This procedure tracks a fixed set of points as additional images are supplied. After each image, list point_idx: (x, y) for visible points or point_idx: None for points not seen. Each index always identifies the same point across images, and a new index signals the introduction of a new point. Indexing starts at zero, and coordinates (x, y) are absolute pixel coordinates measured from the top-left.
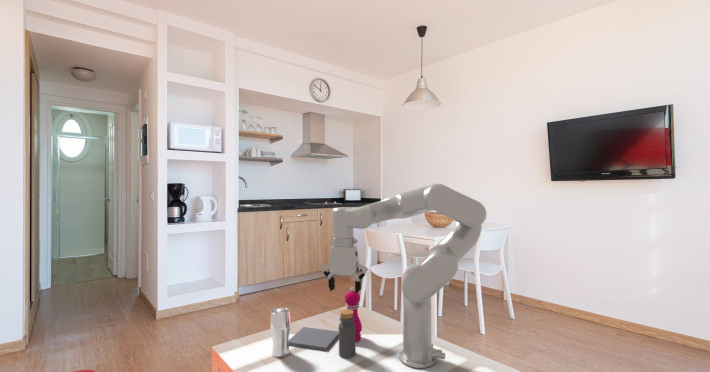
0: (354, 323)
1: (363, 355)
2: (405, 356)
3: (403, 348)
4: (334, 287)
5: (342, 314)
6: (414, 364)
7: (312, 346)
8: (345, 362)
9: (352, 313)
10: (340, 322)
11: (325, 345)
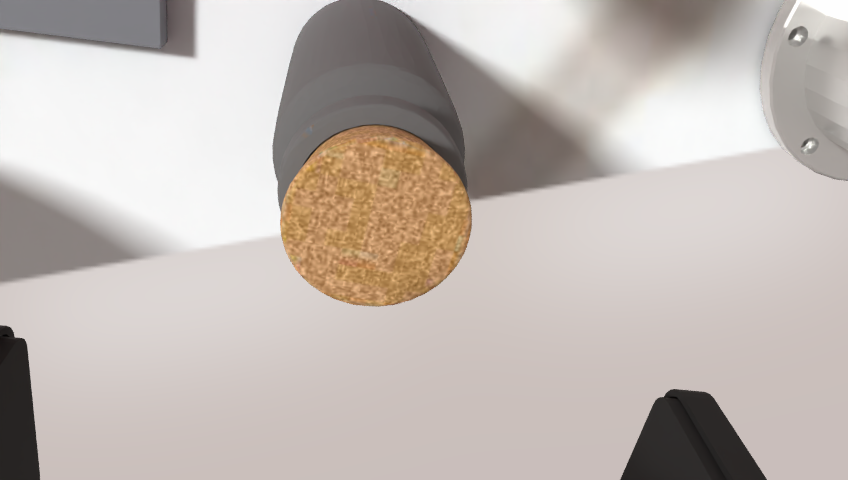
0: (456, 137)
1: (492, 61)
2: (816, 116)
3: (838, 86)
4: (13, 369)
5: (333, 292)
6: (846, 178)
7: (15, 27)
8: None
9: (462, 253)
10: (283, 141)
11: (134, 6)
